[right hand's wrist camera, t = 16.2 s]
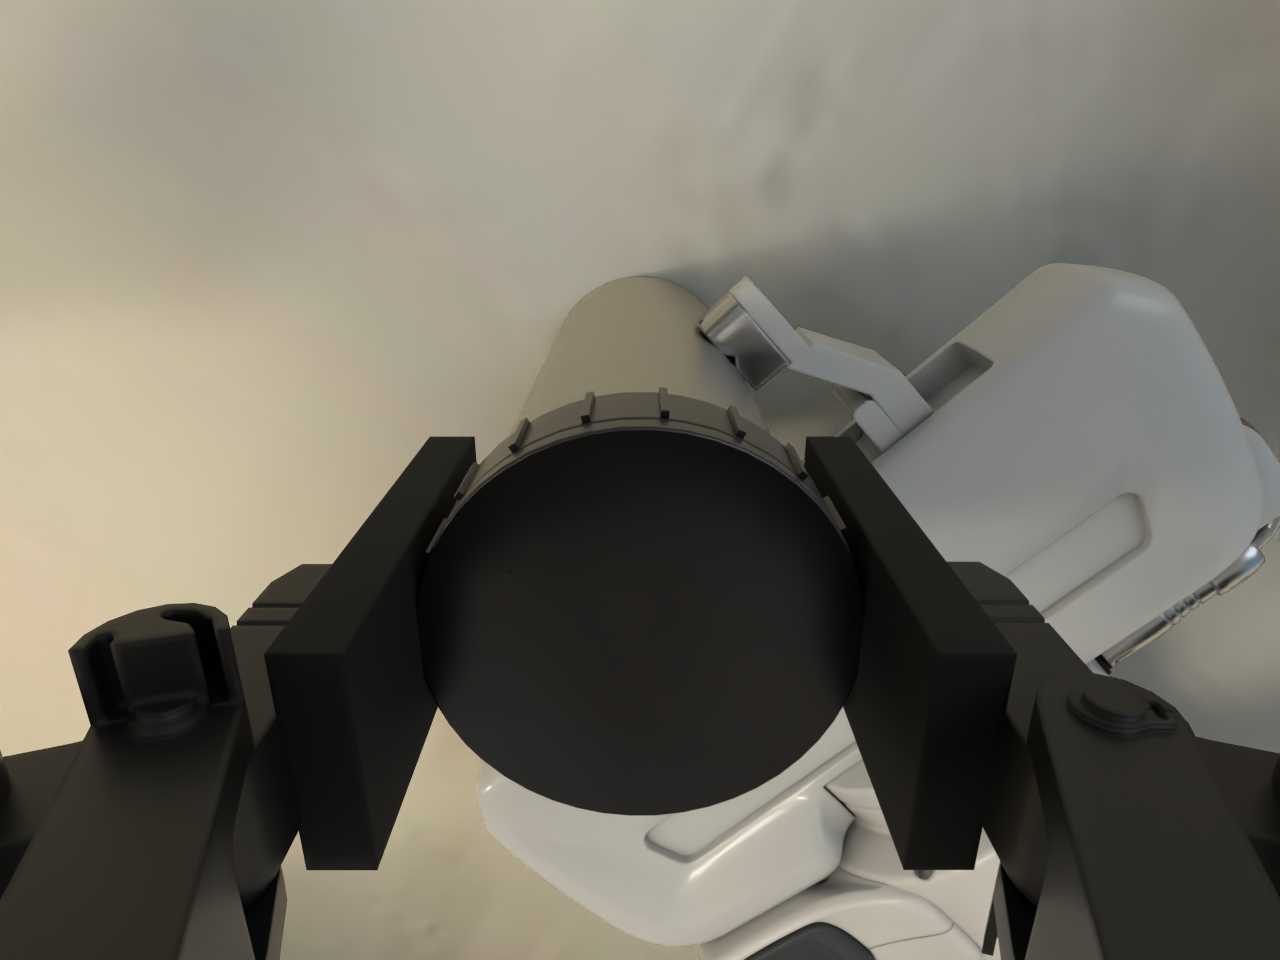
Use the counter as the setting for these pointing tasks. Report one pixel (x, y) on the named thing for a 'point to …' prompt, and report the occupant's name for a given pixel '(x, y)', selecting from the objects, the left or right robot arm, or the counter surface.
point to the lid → (640, 606)
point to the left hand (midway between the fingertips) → (612, 401)
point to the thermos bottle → (637, 351)
